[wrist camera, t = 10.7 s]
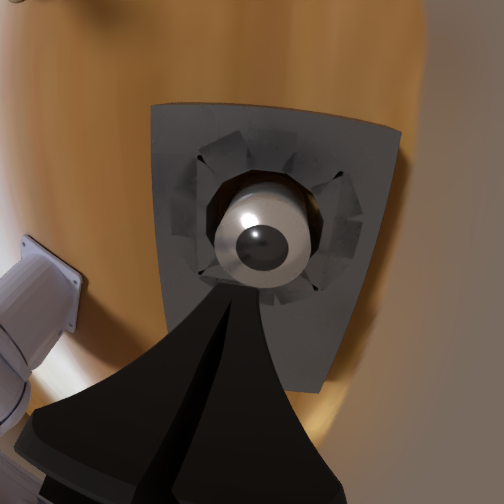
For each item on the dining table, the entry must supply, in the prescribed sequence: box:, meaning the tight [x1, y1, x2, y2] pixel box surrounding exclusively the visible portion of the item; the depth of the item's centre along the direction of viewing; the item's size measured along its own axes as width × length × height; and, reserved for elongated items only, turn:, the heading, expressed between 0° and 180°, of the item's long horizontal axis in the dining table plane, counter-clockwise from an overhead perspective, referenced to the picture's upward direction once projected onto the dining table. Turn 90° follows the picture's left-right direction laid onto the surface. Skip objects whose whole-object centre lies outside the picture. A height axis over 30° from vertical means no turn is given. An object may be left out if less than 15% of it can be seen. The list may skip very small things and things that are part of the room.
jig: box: [151, 102, 401, 393], centre depth 18 cm, size 20×12×3 cm, turn 176°
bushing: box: [214, 173, 311, 288], centre depth 16 cm, size 4×4×5 cm
